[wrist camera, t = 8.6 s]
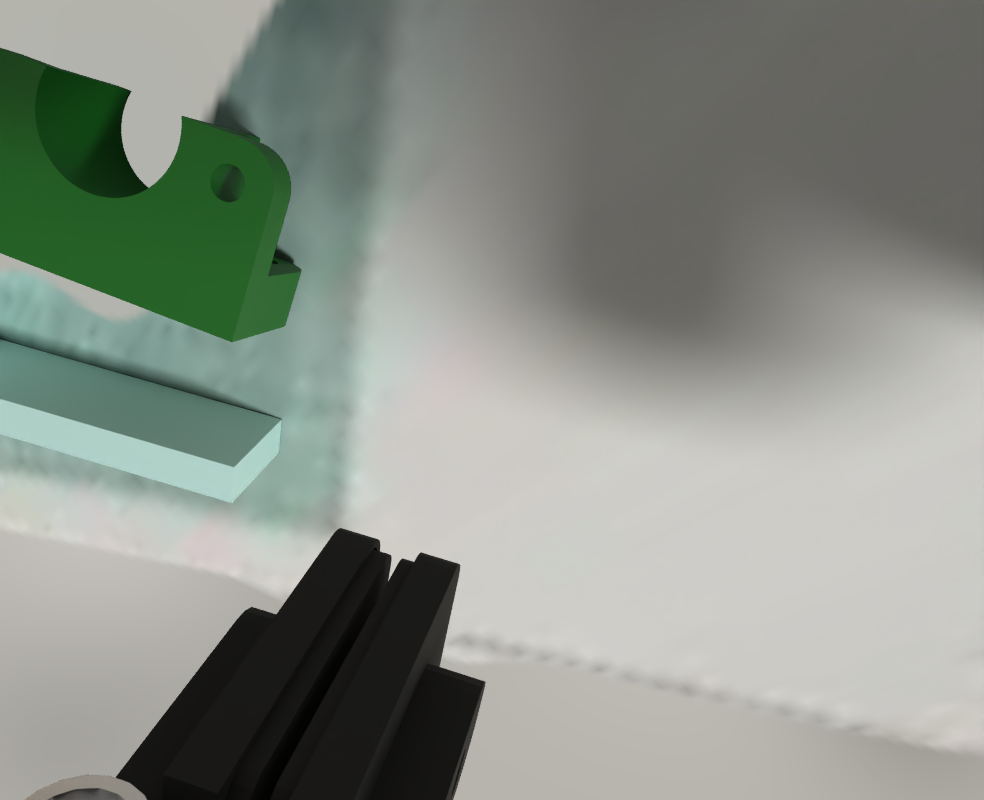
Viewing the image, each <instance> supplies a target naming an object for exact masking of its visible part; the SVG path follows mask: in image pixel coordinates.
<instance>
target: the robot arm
mask: <svg viewBox="0 0 984 800" xmlns="http://www.w3.org/2000/svg"><path fill="white" fill-rule="evenodd" d="M390 566H391V555H389V554H386V553H383V552H380V541H379V540H378V539H375V538H372V537H368V536H365V535H362V534H358V533H355V532H352V531H349V530H345V529H342V528H340V529H338V530H337V531H336V532H335V533H334V534H333V536H332V537H331V538H330V540H329V541H328V543H327V544H326V545H325V547H324V548H323V550H322V551H321V552H320V554H319V555H318V557H317V558H316V559H315V561H314V562H313V564H312V565H311V567H310V568H309V569H308V571H307V572H306V574H305V575H304V576H303V578H302V579H301V581H300V582H299V583H298V585H297V586H296V588H295V589H294V590H293V592H292V593H291V595H290V596H289V598H288V599H287V600H286V602H285V603H284V605H283V606H282V607H281V609H280V610H279V612H278V613H277V614H273V613H269V612H266V611H263V610H260V609H257V608H253V607H251V608H249V609H247V610H245V611H244V612H243V614H242V615H241V616H240V617H239V618H238V619H237V620H236V622H235V623H234V624H233V625H232V627H231V628H230V629H229V631H228V632H227V634H226V635H225V636H224V637H223V638H222V640H221V641H220V642H219V644H218V645H217V646H216V648H215V649H214V650H213V652H212V653H211V654H210V655H209V657H208V658H207V659H206V661H205V662H204V663H203V664H202V666H201V667H200V668H199V670H198V671H197V672H196V674H195V675H194V676H193V677H192V679H191V680H190V681H189V683H188V684H187V685H186V687H185V688H184V689H183V691H182V692H181V693H180V694H179V696H178V697H177V698H176V700H175V701H174V702H173V704H172V705H171V706H170V707H169V709H168V710H167V711H166V713H165V714H164V715H163V717H162V718H161V719H160V720H159V722H158V723H157V724H156V726H155V727H154V728H153V729H152V731H151V732H150V733H149V735H148V736H147V737H146V739H145V740H144V741H143V742H142V744H141V745H140V746H139V748H138V749H137V750H136V752H135V753H134V754H133V755H132V757H131V758H130V760H129V761H128V762H127V763H126V765H125V766H124V767H123V769H122V770H121V771H120V773H119V774H118V775H117V776H116V778H115V777H112V776H103V775H102V776H100V775H83V776H78V777H73V778H68V779H63V780H60V781H58V782H56V783H53V784H51V785H49V786H47V787H44V788H42V789H40V790H38V791H36V792H35V793H33V794H32V795H31V796H30V797H28V798H27V799H25V800H453V798H454V795H455V792H456V789H457V786H458V782H459V779H460V776H461V773H462V769H463V766H464V763H465V759H466V756H467V752H468V749H469V745H470V742H471V738H472V734H473V731H474V727H475V723H476V719H477V716H478V712H479V708H480V703H481V700H482V696H483V691H484V687H485V682H484V681H481V680H478V679H475V678H472V677H468V676H466V675H462V674H460V673H457V672H453V671H450V670H447V669H444V668H441V667H439V666H440V662H441V657H442V652H443V648H444V643H445V638H446V634H447V629H448V624H449V620H450V615H451V610H452V606H453V601H454V596H455V591H456V587H457V582H458V577H459V572H460V564H457V563H454V562H451V561H447V560H444V559H441V558H437V557H434V556H431V555H428V554H424V553H420V554H419V555H418V556H417V558H416V560H415V562H412V561H409V560H406V559H401V560H400V562H399V563H398V565H397V567H396V569H395V570H394V572H393V574H392V576H391V578H390V579H389V581H388V578H389V572H390Z"/></svg>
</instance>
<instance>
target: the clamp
mask: <svg viewBox="0 0 984 800" xmlns="http://www.w3.org/2000/svg"><path fill="white" fill-rule="evenodd" d="M131 92H132V91H130V90H127V89H125V88H122V87H119V86H116V85H113V84H110V83H106V82H103V81H99V80H96V79H92V78H89V77H86V76H83V75H79V74H76V73H73V72H69V71H66V70H63V69H59V68H57V67H54V66H51V65H49V64H46V63H43V62H40V61H38V60H35V59H32V58H30V57H27V56H24V55H21V54H18V53H15V52H12V51H9V50H5V49H2V48H0V253H2V254H4V255H7V256H9V257H12V258H15V259H17V260H20V261H22V262H25V263H28V264H30V265H33V266H35V267H38V268H41V269H43V270H46V271H48V272H51V273H54V274H56V275H59V276H62V277H64V278H67V279H69V280H72V281H75V282H77V283H80V284H82V285H85V286H87V287H90V288H93V289H95V290H98V291H100V292H103V293H106V294H108V295H111V296H114V297H116V298H119V299H121V300H124V301H126V302H129V303H132V304H134V305H137V306H139V307H142V308H145V309H147V310H150V311H152V312H155V313H158V314H160V315H163V316H165V317H168V318H171V319H173V320H176V321H178V322H181V323H184V324H186V325H189V326H191V327H194V328H197V329H199V330H202V331H204V332H207V333H210V334H212V335H215V336H217V337H220V338H223V339H225V340H228V341H230V342H234V341H237V340H241V339H244V338H247V337H251V336H254V335H257V334H261V333H264V332H267V331H271V330H274V329H277V328H281V327H284V326H285V325H286V321H287V318H288V315H289V311H290V308H291V304H292V301H293V298H294V294H295V291H296V287H297V284H298V281H299V277H300V274H301V269H300V268H299V267H297V266H296V265H294V264H292V263H290V262H288V261H285V260H282V259H280V258H277V257H274V253H275V249H276V246H277V242H278V239H279V235H280V232H281V228H282V225H283V221H284V218H285V214H286V211H287V207H288V204H289V200H290V195H291V181H290V176H289V173H288V170H287V168H286V165H285V164H284V162H283V160H282V159H281V158H280V156H279V155H278V154H277V153H276V152H275V151H274V150H272V149H271V148H270V147H268V146H266V145H264V144H262V143H260V138H257V137H254V136H252V135H249V134H246V133H243V132H239V131H235V130H232V129H228V128H224V127H221V126H217V125H213V124H210V123H206V122H202V121H199V120H195V119H191V118H188V117H184V116H182V130H181V138H180V143H179V147H178V150H177V153H176V155H175V158H174V160H173V162H172V164H171V165H170V167H169V168H168V170H167V171H166V173H165V174H164V175H163V176H162V178H160V179H159V180H158V181H157V182H156V183H155V184H154V185H152V186H151V187H150V188H148V187H147V186H146V185H144V184H143V182H142V181H141V180H140V179H139V178H138V177H137V176H136V174H135V173H134V171H133V169H132V168H131V166H130V164H129V162H128V160H127V157H126V155H125V151H124V148H123V143H122V136H121V122H122V115H123V110H124V107H125V104H126V101H127V99H128V97H129V95H130V93H131Z"/></svg>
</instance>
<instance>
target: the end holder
mask: <svg viewBox="0 0 984 800" xmlns="http://www.w3.org/2000/svg"><path fill="white" fill-rule="evenodd" d="M281 421H282V419H278V418H275V417H271V416H268V415H264V414H261V413H257V412H254V411H250V410H247V409H243V408H240V407H236V406H233V405H229V404H226V403H222V402H219V401H215V400H211V399H208V398H204V397H201V396H197V395H194V394H190V393H187V392H183V391H180V390H176V389H173V388H169V387H166V386H162V385H159V384H155V383H152V382H148V381H145V380H141V379H138V378H134V377H131V376H127V375H124V374H120V373H117V372H113V371H110V370H106V369H103V368H99V367H96V366H92V365H89V364H85V363H82V362H78V361H74V360H71V359H67V358H64V357H60V356H57V355H53V354H50V353H46V352H43V351H39V350H36V349H32V348H29V347H25V346H22V345H18V344H15V343H11V342H8V341H4V340H1V339H0V434H2V435H5V436H9V437H12V438H15V439H19V440H22V441H25V442H29V443H32V444H36V445H39V446H42V447H46V448H49V449H52V450H56V451H59V452H62V453H66V454H69V455H72V456H76V457H79V458H83V459H86V460H89V461H93V462H96V463H99V464H103V465H106V466H109V467H113V468H116V469H120V470H123V471H126V472H130V473H133V474H136V475H140V476H143V477H146V478H150V479H153V480H156V481H160V482H163V483H167V484H170V485H173V486H177V487H180V488H183V489H187V490H190V491H193V492H197V493H200V494H204V495H207V496H210V497H214V498H217V499H220V500H224V501H227V502H230V503H232V502H233V501H234V500H235V499H236V498H237V497H238V496H239V495H240V494H241V493H242V492H243V491H244V489H245V488H246V487H247V486H248V485H249V484H250V483H251V482H252V481H253V480H254V479H255V478H256V476H257V475H258V474H259V473H260V472H261V471H262V470H263V469H264V468H265V467H266V466H267V465H268V463H269V462H270V461H271V460H272V459H273V458H274V457H275V456H276V455H277V454H278V453H279V444H280V432H281Z"/></svg>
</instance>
